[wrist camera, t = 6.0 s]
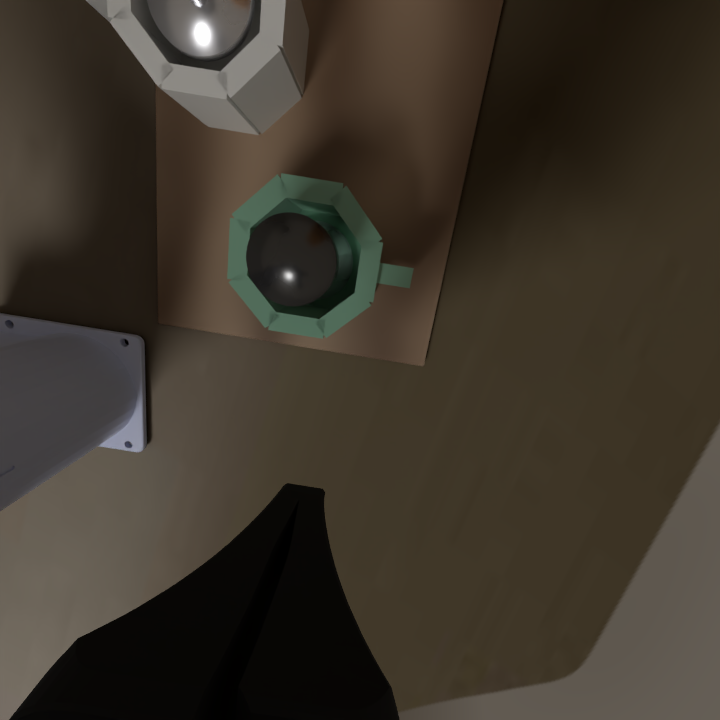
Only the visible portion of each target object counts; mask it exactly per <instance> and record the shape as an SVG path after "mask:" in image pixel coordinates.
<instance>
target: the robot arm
mask: <svg viewBox="0 0 720 720" xmlns="http://www.w3.org/2000/svg"><path fill="white" fill-rule="evenodd" d="M12 322H13V324H14V326H13V325H12ZM125 339H127V340H128V342H129V345H127V344H126V343H125ZM129 442H131V443H132V445H131V444H130V443H129ZM97 446H101V447H107V448H114V449H120V450H126V451H133V452H141V451H143V450H144V449H145V448H146V446H147V432H146V387H145V344H144V340H143V339H142V338H141V337H140V336H138V335H134V334H128V333H122V332H115V331H109V330H103V329H97V328H91V327H84V326H78V325H72V324H66V323H60V322H53V321H47V320H41V319H35V318H29V317H22V316H16V315H10V314H4V313H0V511H2V510H3V509H5V508H6V507H8V506H9V505H11V504H12V503H14V502H15V501H17V500H18V499H20V498H21V497H23V496H24V495H26V494H27V493H29V492H30V491H32V490H33V489H35V488H36V487H38V486H39V485H41V484H42V483H44V482H45V481H47V480H48V479H50V478H51V477H53V476H54V475H56V474H57V473H59V472H60V471H61V470H63V469H64V468H66V467H67V466H69V465H70V464H72V463H73V462H75V461H76V460H78V459H79V458H81V457H82V456H84V455H85V454H87V453H88V452H90V451H91V450H93V449H94V448H96V447H97ZM324 496H325V492H324V490H323V489H320V488H314V487H308V486H301V485H295V484H289V483H287V484H285V485H284V486H283V487H282V489H281V490H280V491H279V492H278V494H277V495H276V496H275V497H274V498H273V500H272V501H271V502H270V503H269V504H268V505H267V506H266V508H265V509H264V510H263V511H262V512H261V513H260V514H259V515H258V516H257V517H256V518H255V519H254V520H253V521H252V522H251V523H250V524H249V525H248V526H247V527H246V528H245V529H244V530H243V531H242V532H241V533H240V534H239V535H237V536H236V537H235V538H234V539H233V540H232V541H231V542H230V543H229V544H228V545H226V546H225V547H224V548H223V549H222V550H221V551H219V552H218V553H217V554H216V555H214V556H213V557H212V558H211V559H209V560H208V561H207V562H206V563H204V564H203V565H202V566H200V567H199V568H197V569H196V570H195V571H193V572H192V573H190V574H189V575H188V576H186V577H185V578H184V579H182V580H181V581H179V582H178V583H176V584H175V585H173V586H172V587H170V588H169V589H167V590H165V591H164V592H162V593H160V594H159V595H157V596H156V597H154V598H152V599H151V600H149V601H147V602H146V603H144V604H142V605H141V606H139V607H138V608H136V609H134V610H132V611H131V612H129V613H127V614H125V615H123V616H121V617H119V618H117V619H115V620H114V621H112V622H110V623H108V624H106V625H104V626H102V627H100V628H98V629H96V630H94V631H92V632H90V633H88V634H86V635H84V636H82V637H80V638H78V639H77V640H76V641H75V642H74V643H73V644H72V645H71V646H70V648H69V649H68V650H67V651H66V652H65V653H64V654H63V655H62V656H61V657H60V658H59V659H58V660H57V661H56V663H55V664H54V665H53V666H52V667H51V668H50V669H49V671H48V672H47V673H46V674H45V675H44V677H43V678H42V679H41V680H40V682H39V683H38V684H37V685H36V687H35V688H34V689H33V690H32V692H31V693H30V694H29V695H28V697H27V698H26V699H25V700H24V702H23V703H22V704H21V706H20V707H19V708H18V709H17V711H16V712H15V713H14V714H13V716H12V717H11V718H10V719H9V720H399V716H398V711H397V707H396V703H395V699H394V696H393V692H392V688H391V686H390V684H389V683H388V681H387V679H386V678H385V676H384V674H383V673H382V671H381V669H380V667H379V666H378V664H377V662H376V660H375V658H374V657H373V655H372V653H371V651H370V649H369V647H368V645H367V643H366V641H365V639H364V637H363V635H362V633H361V631H360V629H359V627H358V625H357V622H356V620H355V618H354V616H353V613H352V611H351V609H350V607H349V604H348V602H347V599H346V597H345V594H344V591H343V589H342V586H341V583H340V580H339V577H338V574H337V571H336V567H335V564H334V560H333V557H332V553H331V549H330V544H329V540H328V534H327V528H326V522H325V513H324Z"/></svg>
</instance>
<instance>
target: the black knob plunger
mask: <svg viewBox="0 0 720 720" xmlns="http://www.w3.org/2000/svg"><path fill="white" fill-rule="evenodd" d="M246 263H247V268H248V272H249V275H250V277H251V279H252V281H253V283H254V285H255V286H256V287H257V289H258V290H259V291H260V292H261V293H262V294H263V295H264V296H265V297H267V298H268V299H270V300H271V301H273V302H275V303H278V304H281V305H285V306H302V305H306V304H309V303H311V302H313V301H315V300H317V299H325V298H328V297H330V296H333V295H334V294H336V293H337V292H339V291H340V290H341V289H342V288H343V287H344V286H345V284H346V283H347V282H348V280H349V278H350V275H351V272H352V268H353V255H352V251H351V247H350V245H349V243H348V241H347V239H346V238H345V236H344V235H343V234H342V233H341V232H340V231H339V230H338V229H336V228H335V227H334V226H332V225H330V224H328V223H326V222H322V221H316V220H313V219H311V218H309V217H307V216H305V215H302V214H298V213H292V212H284V213H278V214H275V215H272V216H270V217H268V218H266V219H265V220H264V221H262V222H261V223H260V224H259V225H258V226H257V227H256V229H255V230H254V231H253V233H252V235H251V237H250V239H249V242H248V245H247V251H246Z"/></svg>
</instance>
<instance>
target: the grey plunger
mask: <svg viewBox="0 0 720 720" xmlns="http://www.w3.org/2000/svg"><path fill="white" fill-rule="evenodd" d="M147 3H148V6H149V10H150V12H151V15H152V17H153V19H154V21H155V23H156V25H157V27H158V28H159V30H160V31H161V33H162V34H163V35H164V36H165V37H166V39H167V40H168V41H169V42H170V43H171V44H172V45H173V46H174V47H175V48H176V49H177V50H179V51H180V52H181V53H182V54H184V55H186V56H188V57H189V58H192V59H194V60H198V61H203V62H214V61H219V60H222V59H224V58H227V57H228V56H230V55H231V54H233V53H234V52H235V51H236V50H237V49H238V48H239V47H240V46H241V45H242V44H243V42H244V41H245V39H246V37H247V35H248V33H249V31H250V28H251V25H252V21H253V16H254V0H147Z"/></svg>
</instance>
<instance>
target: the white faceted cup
mask: <svg viewBox="0 0 720 720" xmlns="http://www.w3.org/2000/svg"><path fill="white" fill-rule="evenodd" d="M86 1H87V2H88V3H89V4H90V5H91V6H92V7H93V8H95V9H96V10H97V11H98V12H99V13H100V14H101V15H102V16H103V17H104V18H106V19H107V20H108V21H109V22H110V23H111V25H112V26H113V27H114V29H115V30H116V31H117V33H118V34H119V35H120V37H121V38H122V39H123V41H124V42H125V43H126V45H127V46H128V47H129V49H130V50H131V51H132V53H133V54H134V55H135V57H136V58H137V59H138V61H139V62H140V63H141V65H142V66H143V67H144V69H145V70H146V71H147V73H148V74H149V75H150V77H151V78H152V79H153V81H154V82H155V83H156V85H157V86H158V87H159V88H160V89H162V90H163V91H164V92H165V93H167V94H168V95H169V96H170V97H172V98H173V99H174V100H175V101H177V102H178V103H179V104H180V105H181V106H183V107H184V108H185V109H186V110H188V111H189V112H190V113H191V114H193V115H194V116H195V117H196V118H198V119H199V120H200V121H201V122H202V123H204V124H205V125H207V126H208V127H212V128H218V129H224V130H230V131H236V132H242V133H249V134H255V135H259V131H260V133H261V134H263V133H264V132H265V131H266V130H267V129H268V128H270V127H271V126H272V125H273V124H274V123H275V122H276V121H277V120H278V119H279V118H281V117H282V116H283V115H284V114H285V113H286V112H287V111H288V110H289V109H290V108H291V107H293V106H294V105H295V104H296V103H297V102H298V101H299V100H300V99H301V95H303V93H304V82H305V71H306V60H307V50H308V39H309V28H308V24H307V20H306V17H305V13H304V9H303V6H302V2H301V0H254V16H253V21H252V25H251V28H250V31H249V33H248V35H247V37H246V39H245V41H244V42H243V44H242V45H241V46H240V47H239V48H238V49H237V50H236V51H235V52H234V53H233V54H231V55H230V56H228V57H227V58H224V59H222V60H219V61H214V62H203V61H198V60H194V59H192V58H189V57H188V56H186V55H184V54H182V53H181V52H180V51H179V50H177V49H176V48H175V47H174V46H173V45H172V44H171V43H170V42H169V41H168V40H167V39H166V37H165V36H164V35H163V34H162V33H161V31H160V30H159V28H158V27H157V25H156V23H155V21H154V19H153V17H152V15H151V12H150V10H149V6H148V3H147V0H86ZM300 94H301V95H300Z"/></svg>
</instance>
